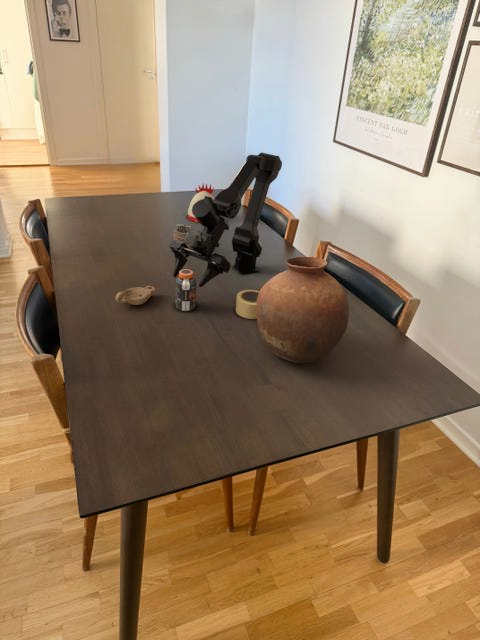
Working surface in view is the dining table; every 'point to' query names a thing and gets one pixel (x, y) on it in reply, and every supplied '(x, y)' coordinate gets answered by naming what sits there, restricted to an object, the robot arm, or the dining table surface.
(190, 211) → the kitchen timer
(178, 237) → the red upright container
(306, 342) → the pottery
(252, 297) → the tape roll
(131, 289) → the oil lamp
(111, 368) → the dining table surface
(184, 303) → the pill bottle
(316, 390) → the dining table surface
